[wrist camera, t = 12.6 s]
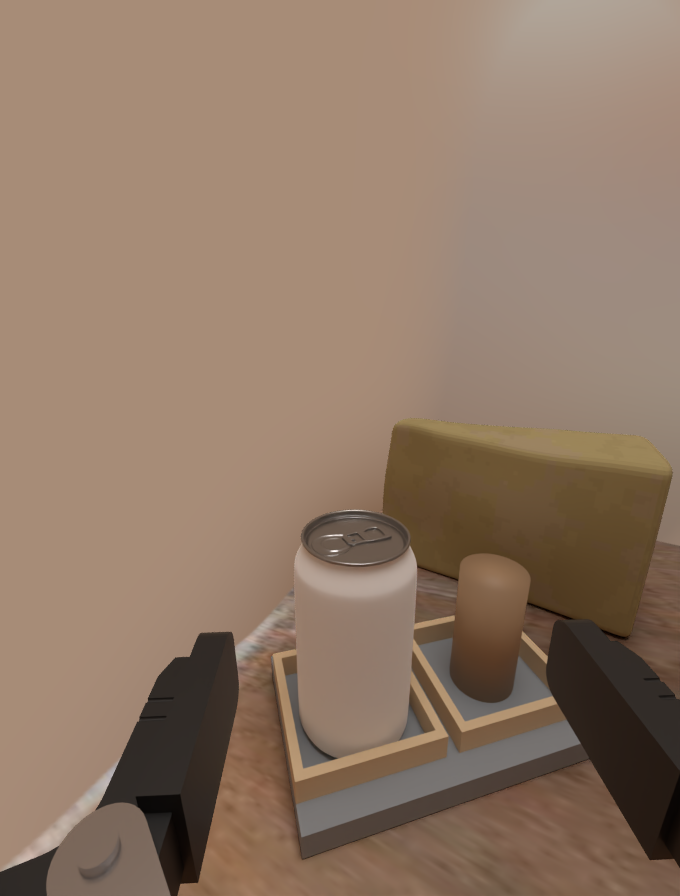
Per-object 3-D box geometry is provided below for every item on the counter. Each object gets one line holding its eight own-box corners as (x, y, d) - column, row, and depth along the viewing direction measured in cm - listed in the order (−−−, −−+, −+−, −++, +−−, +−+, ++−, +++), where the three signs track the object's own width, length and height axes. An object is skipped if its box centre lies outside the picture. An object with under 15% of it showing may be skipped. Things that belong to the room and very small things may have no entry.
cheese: (366, 576, 41) (369, 428, 36) (395, 532, 49) (401, 407, 45) (634, 647, 32) (682, 463, 27) (614, 578, 40) (648, 429, 36)
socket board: (482, 626, 34) (496, 521, 31) (596, 756, 24) (631, 619, 21) (272, 673, 29) (265, 556, 27) (302, 859, 19) (296, 701, 16)
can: (284, 690, 26) (275, 519, 23) (372, 655, 29) (377, 498, 25) (326, 790, 21) (323, 585, 17) (430, 735, 23) (447, 548, 20)
